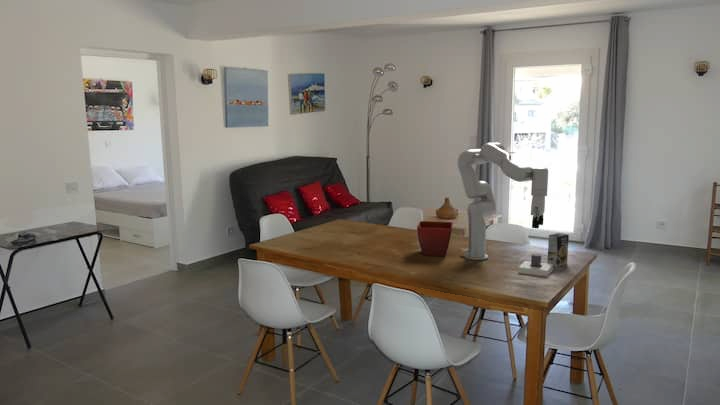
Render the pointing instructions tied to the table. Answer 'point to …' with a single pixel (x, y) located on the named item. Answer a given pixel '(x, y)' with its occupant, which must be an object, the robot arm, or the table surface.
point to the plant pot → (434, 237)
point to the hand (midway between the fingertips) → (537, 226)
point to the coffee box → (558, 249)
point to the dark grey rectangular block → (536, 260)
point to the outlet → (535, 269)
